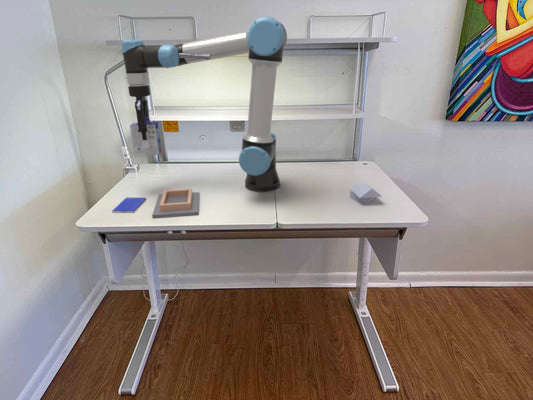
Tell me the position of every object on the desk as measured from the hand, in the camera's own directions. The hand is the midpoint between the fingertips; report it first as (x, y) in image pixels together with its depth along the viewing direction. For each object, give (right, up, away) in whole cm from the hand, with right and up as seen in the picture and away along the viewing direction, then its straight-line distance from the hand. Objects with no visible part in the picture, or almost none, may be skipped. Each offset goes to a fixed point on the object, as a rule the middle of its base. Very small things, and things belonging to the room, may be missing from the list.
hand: (147, 146), depth 144 cm
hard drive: (-5, -24, -5) cm, 25 cm away
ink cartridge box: (0, -3, +1) cm, 3 cm away
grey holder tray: (+13, -24, -5) cm, 28 cm away
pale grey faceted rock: (+85, -21, -1) cm, 88 cm away
